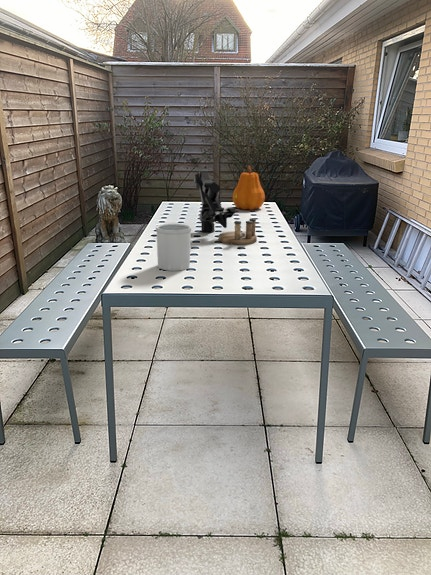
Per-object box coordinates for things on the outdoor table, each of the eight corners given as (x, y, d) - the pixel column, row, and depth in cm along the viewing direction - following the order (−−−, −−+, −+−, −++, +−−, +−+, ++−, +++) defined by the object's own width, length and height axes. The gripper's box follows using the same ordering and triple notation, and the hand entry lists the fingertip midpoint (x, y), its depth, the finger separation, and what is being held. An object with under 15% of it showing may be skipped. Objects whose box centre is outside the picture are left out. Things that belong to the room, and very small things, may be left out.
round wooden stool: (211, 238, 249) (211, 217, 245) (240, 234, 260) (241, 214, 256) (234, 246, 233) (234, 224, 230) (264, 241, 244) (265, 220, 241)
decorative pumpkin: (228, 205, 345) (229, 164, 335) (259, 205, 350) (261, 164, 339) (235, 211, 324) (236, 167, 314) (268, 210, 328) (270, 167, 318)
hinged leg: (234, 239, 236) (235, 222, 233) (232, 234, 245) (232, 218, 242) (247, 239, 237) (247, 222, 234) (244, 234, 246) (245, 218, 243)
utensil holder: (173, 259, 211) (173, 221, 205) (198, 265, 202) (198, 226, 196) (149, 266, 200) (148, 226, 194) (174, 273, 191) (173, 232, 185)
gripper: (221, 210, 259) (232, 233, 255) (193, 213, 249) (204, 238, 244) (230, 198, 250) (242, 222, 246) (201, 201, 240) (213, 226, 236)
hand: (225, 227), depth 243 cm, fingers closed
